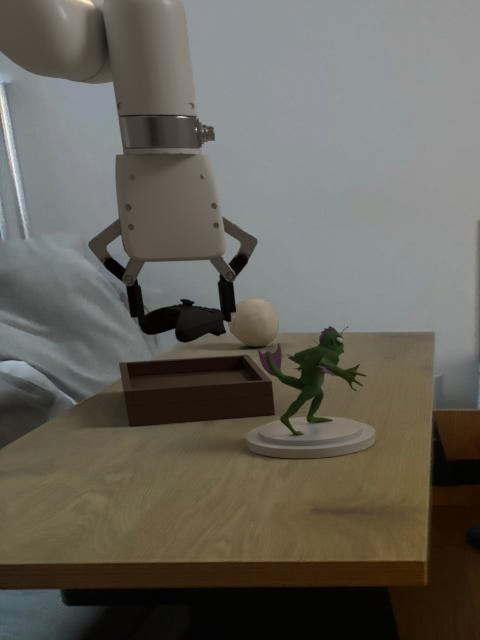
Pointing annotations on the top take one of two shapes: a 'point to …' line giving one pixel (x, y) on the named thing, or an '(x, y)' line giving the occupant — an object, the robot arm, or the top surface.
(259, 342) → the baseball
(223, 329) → the gaming controller
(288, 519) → the top surface
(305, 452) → the monster figurine
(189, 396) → the tray
